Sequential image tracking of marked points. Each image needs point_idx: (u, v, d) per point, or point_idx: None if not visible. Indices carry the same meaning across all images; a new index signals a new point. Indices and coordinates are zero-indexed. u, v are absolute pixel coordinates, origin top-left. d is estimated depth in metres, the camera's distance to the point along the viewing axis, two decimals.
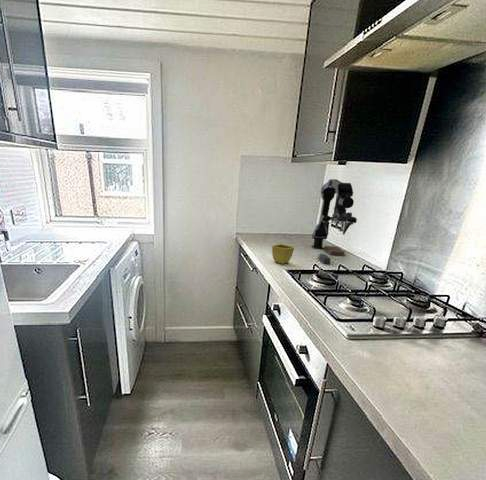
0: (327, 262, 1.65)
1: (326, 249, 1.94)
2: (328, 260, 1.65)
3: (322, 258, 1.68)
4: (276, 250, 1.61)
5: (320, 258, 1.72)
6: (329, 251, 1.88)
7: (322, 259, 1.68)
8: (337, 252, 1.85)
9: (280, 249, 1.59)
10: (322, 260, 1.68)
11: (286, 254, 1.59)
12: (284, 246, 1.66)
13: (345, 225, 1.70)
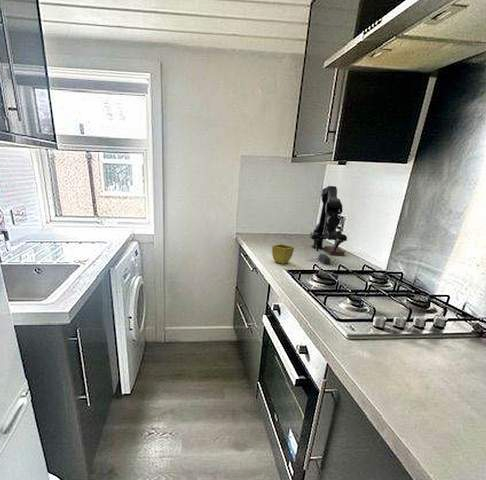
0: (327, 262, 1.65)
1: (326, 249, 1.94)
2: (328, 260, 1.65)
3: (322, 258, 1.68)
4: (276, 250, 1.61)
5: (320, 258, 1.72)
6: (329, 251, 1.88)
7: (322, 259, 1.68)
8: (337, 252, 1.85)
9: (280, 249, 1.59)
10: (322, 260, 1.68)
11: (286, 254, 1.59)
12: (284, 246, 1.66)
13: (335, 243, 1.67)
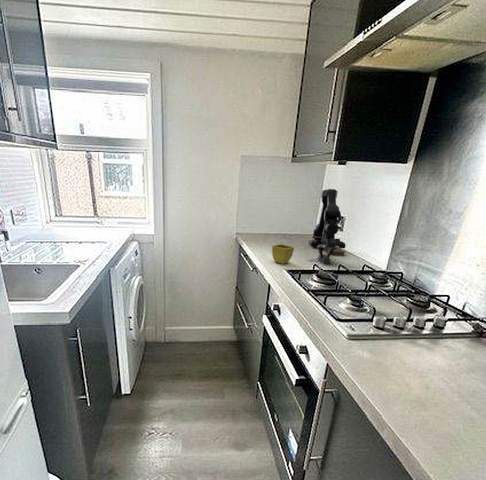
0: (327, 262, 1.65)
1: (326, 249, 1.94)
2: (328, 260, 1.65)
3: (322, 258, 1.68)
4: (276, 250, 1.61)
5: (320, 258, 1.72)
6: None
7: (322, 259, 1.68)
8: (337, 252, 1.85)
9: (280, 249, 1.59)
10: (322, 260, 1.68)
11: (286, 254, 1.59)
12: (284, 246, 1.66)
13: (329, 250, 1.69)
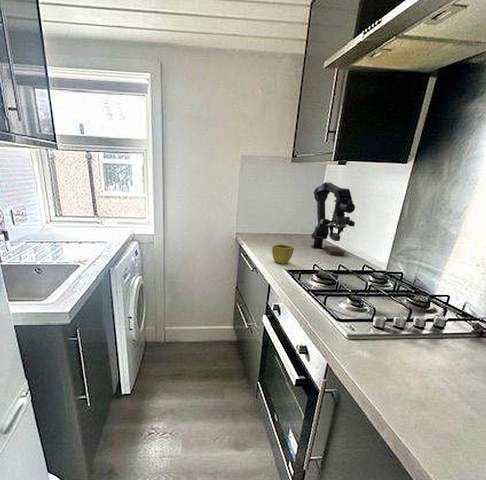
0: (337, 239, 1.78)
1: (326, 249, 1.94)
2: (338, 237, 1.78)
3: (332, 236, 1.81)
4: (276, 250, 1.61)
5: None
6: (329, 251, 1.88)
7: (332, 236, 1.81)
8: (337, 252, 1.85)
9: (280, 249, 1.59)
10: (332, 237, 1.81)
11: (286, 254, 1.59)
12: (284, 246, 1.66)
13: (339, 228, 1.81)
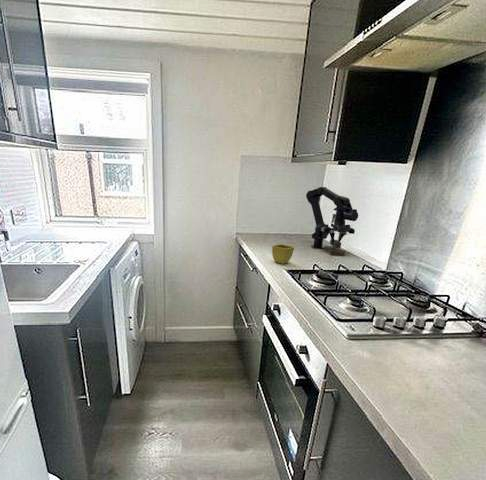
0: (338, 246, 1.85)
1: (326, 249, 1.94)
2: (339, 244, 1.85)
3: (333, 242, 1.88)
4: (276, 250, 1.61)
5: (331, 243, 1.91)
6: (329, 251, 1.88)
7: (334, 243, 1.88)
8: (337, 252, 1.85)
9: (280, 249, 1.59)
10: (334, 244, 1.88)
11: (286, 254, 1.59)
12: (284, 246, 1.66)
13: (340, 235, 1.88)
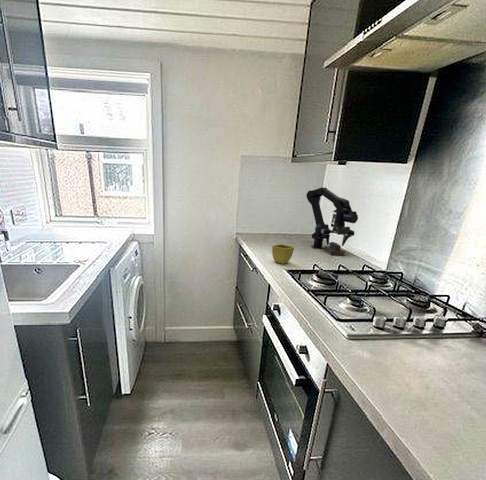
0: (338, 249, 1.86)
1: (326, 249, 1.94)
2: (339, 247, 1.85)
3: (333, 245, 1.89)
4: (276, 250, 1.61)
5: (331, 246, 1.92)
6: (329, 251, 1.88)
7: (333, 246, 1.88)
8: (337, 252, 1.85)
9: (280, 249, 1.59)
10: (333, 247, 1.88)
11: (286, 254, 1.59)
12: (284, 246, 1.66)
13: (344, 237, 1.89)
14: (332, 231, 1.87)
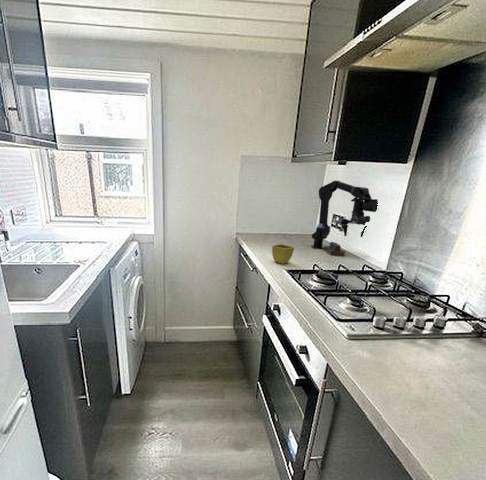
0: (338, 249, 1.86)
1: (326, 249, 1.94)
2: (339, 247, 1.85)
3: (333, 245, 1.89)
4: (276, 250, 1.61)
5: (331, 246, 1.92)
6: (329, 251, 1.88)
7: (333, 246, 1.88)
8: (337, 252, 1.85)
9: (280, 249, 1.59)
10: (333, 247, 1.88)
11: (286, 254, 1.59)
12: (284, 246, 1.66)
13: None
14: (350, 221, 1.76)
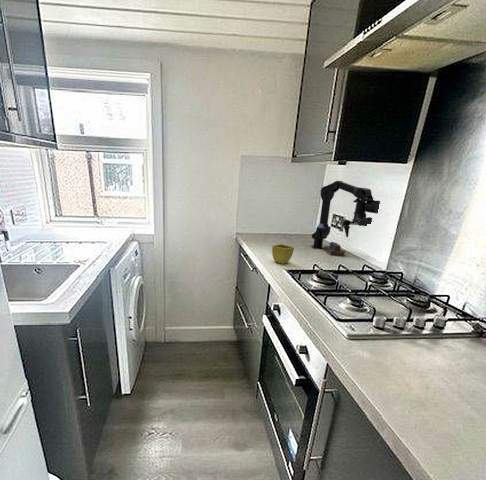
0: (338, 249, 1.86)
1: (326, 249, 1.94)
2: (339, 247, 1.85)
3: (333, 245, 1.89)
4: (276, 250, 1.61)
5: (331, 246, 1.92)
6: (329, 251, 1.88)
7: (333, 246, 1.88)
8: (337, 252, 1.85)
9: (280, 249, 1.59)
10: (333, 247, 1.88)
11: (286, 254, 1.59)
12: (284, 246, 1.66)
13: None
14: (352, 222, 1.75)
